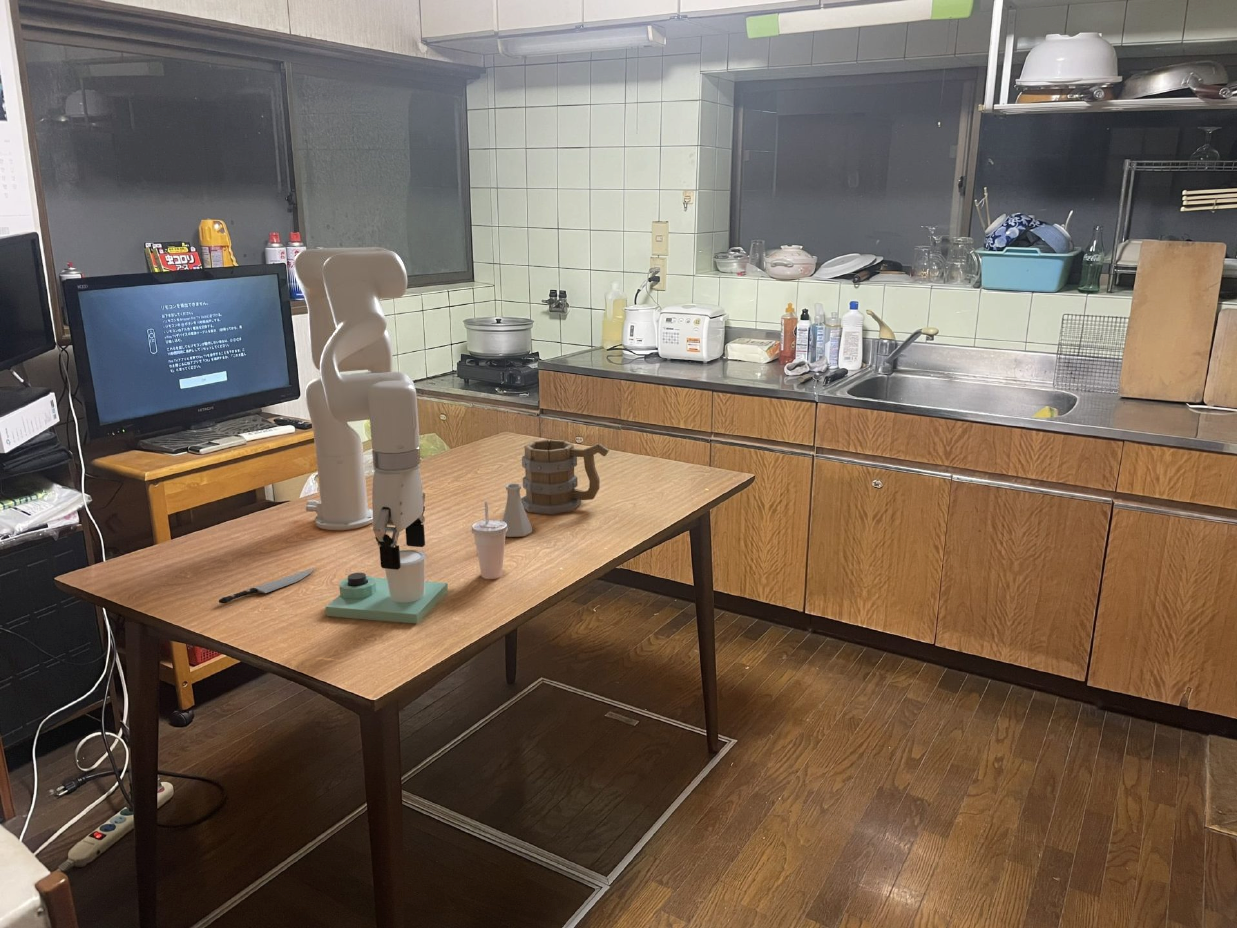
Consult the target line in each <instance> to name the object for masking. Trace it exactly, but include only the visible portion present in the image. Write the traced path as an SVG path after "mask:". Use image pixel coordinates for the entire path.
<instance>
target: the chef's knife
mask: <svg viewBox="0 0 1237 928" xmlns="http://www.w3.org/2000/svg"><path fill="white" fill-rule="evenodd" d="M313 570H314V568H310V569H307V570H304V571H303V570H302V571H300V572H297V573H294V574H291V575H287V576H285V577H281V578H279V579H276V580H273V581H270V582H267V583H264V584H260V585H258V586H255V587H251V588H248V589H245V590H241V591H239V592H236V593H234V594H231V595H227V596H223V597H221V598H220V599H218V603H219V604H227V603H229V602H231V601H233V600H236V599H239V598H242V597H245V596H249V595H253V594H256V593H260V594H267V593H270V592H272V591H276V590H278V589H281V588H284V587H286V586H289V585H292V584H295V583H297V582H299V581H301V580H303V579H304V578H306V577H307V576H309V575H310V574H311V573H312V572H313Z"/></svg>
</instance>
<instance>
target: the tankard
mask: <svg viewBox="0 0 1237 928" xmlns="http://www.w3.org/2000/svg"><path fill="white" fill-rule="evenodd" d="M523 448H524V455H522V456H521V467H522V468H523V469H524V471H525V472H524V477H523V478H522V488H523V489H524V490H525V496H523V497H521V501H522V504H523V507H524V510H525V511H527V512H528V513H531V514H541V515H550V516H551V515H557V514H563V513H570V512H573V511H574V510H575V509H577V508H578V507H579V506H580V505H582V501H590V500H591V501H592V500H594V499H595V498H596V496H597V494H598V492H599V490H600V477H599V474H598V471H597V468H596V464H595V455H597V454H599V455H601V456H602V457H606V456H607V455H608V453H609V452H610V449H609V448H608V447H606V446H605V445H603V444H601V442H598V443H596V444H594V445H591V446H589V447H586V448H584V449H583V448H576V447H575V445H574V444H573V443H571V442H569V441H567V440H562V439H542V440H534V441H531V442H529V443H527V444H525V445H524V447H523ZM578 458H583V465H584V470H585V473H586V475H587V477H588V481H589V482H588V483H589V484H588V485H589V486H588V489H587V490H582V489H578V488H577V487H578V476H577V475H575V468H576V467H577V466H578Z"/></svg>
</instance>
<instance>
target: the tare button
mask: <svg viewBox="0 0 1237 928" xmlns="http://www.w3.org/2000/svg"><path fill="white" fill-rule="evenodd" d="M366 576H367V574H366V573H364V572H353V573H350V574H348V575H347V578H348V586H353V587H356V586H362V585H365V584H367V581H366Z"/></svg>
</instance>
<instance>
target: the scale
mask: <svg viewBox="0 0 1237 928" xmlns="http://www.w3.org/2000/svg"><path fill="white" fill-rule="evenodd" d="M366 581H367V584H365V585H362V586H356V587H353V586H348V577H347V578H344V579H342V580H341V581H339V583H338V586H339V595H338V596H337V597H335V598H334V599H333V600H332V601H331V602H329V603H328V604H327V605H326V606H325V614H326V615H325V616H326V617H334V618H335V617H336V618H337V617H338V618H348V619H359V620H371V621H383V622H393V623H404V624H405V623H407V624H416V625H417V624H419V623H420V622H421V621H422V620H423V619H424V618H425V617H426V616H427V615H428V613H429V612H431V610H432V609H434V607H435V606H436V605H437V604H438V603H439V602H440V601H441V600H442V599H443V598H444V597H445V596H446V595H447V593H448V592H449V586H448V582H440V581H439V582H438V581H426V580H425V594H424V597H422V598H421V599H419V600H417V601H413V602H406V603H401V602H395V601H393V600H391V598H390V593H389V588H388V582H387V577H373V576H370V575H366Z"/></svg>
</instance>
